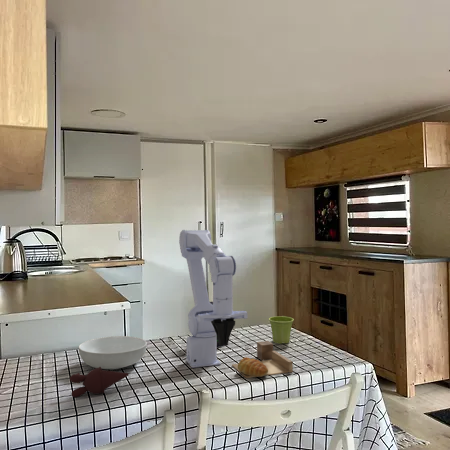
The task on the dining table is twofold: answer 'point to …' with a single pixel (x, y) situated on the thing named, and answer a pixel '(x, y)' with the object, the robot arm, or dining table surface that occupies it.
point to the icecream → (96, 381)
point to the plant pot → (281, 328)
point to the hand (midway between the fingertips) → (223, 345)
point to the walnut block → (264, 350)
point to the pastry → (252, 367)
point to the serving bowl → (112, 351)
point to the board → (274, 365)
